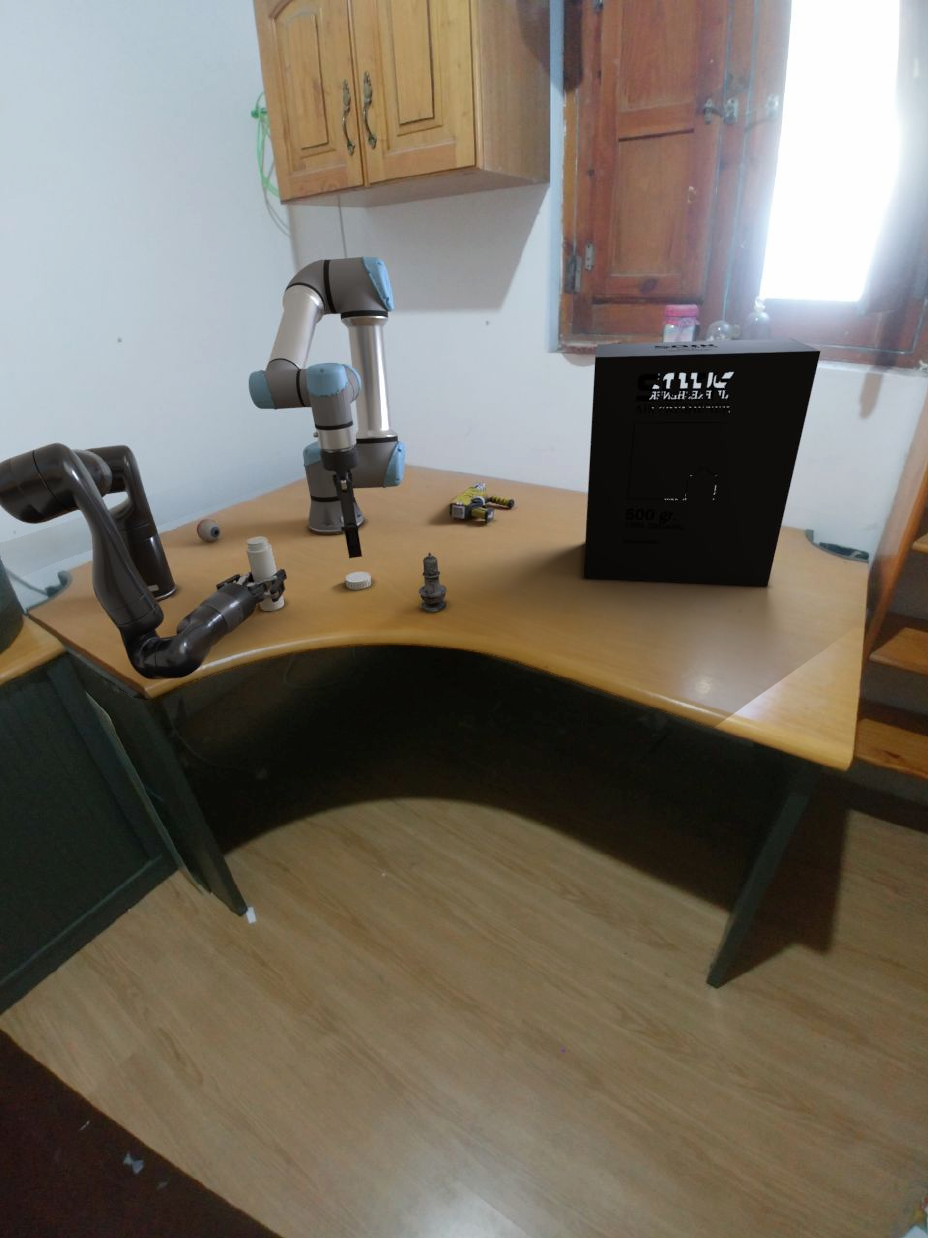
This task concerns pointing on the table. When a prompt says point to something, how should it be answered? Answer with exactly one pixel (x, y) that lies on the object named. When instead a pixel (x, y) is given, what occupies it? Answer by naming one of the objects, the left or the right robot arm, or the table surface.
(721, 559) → the cardboard box
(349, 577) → the lid
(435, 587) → the dark grey chess piece
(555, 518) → the table surface
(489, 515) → the toy gun
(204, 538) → the eyeball
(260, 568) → the jar
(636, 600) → the table surface
